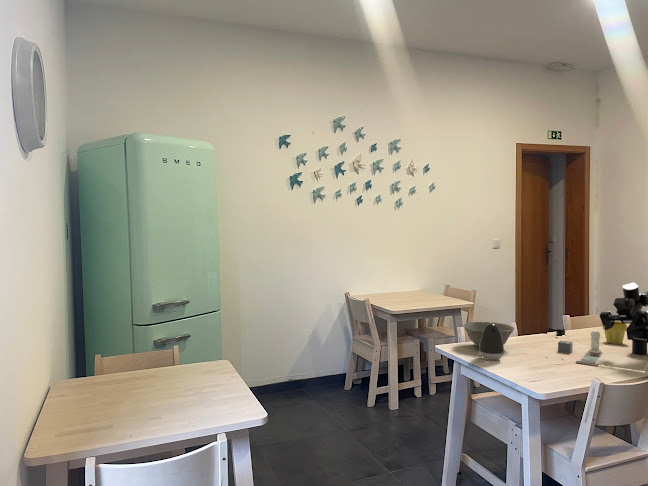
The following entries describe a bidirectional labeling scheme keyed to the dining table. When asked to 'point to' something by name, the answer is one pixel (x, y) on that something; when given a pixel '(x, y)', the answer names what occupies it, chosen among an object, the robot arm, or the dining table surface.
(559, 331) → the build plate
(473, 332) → the ceramic bowl
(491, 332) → the dark grey egg shape
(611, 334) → the plant pot
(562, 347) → the grey cube
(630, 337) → the robot arm
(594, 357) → the board
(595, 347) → the pawn
